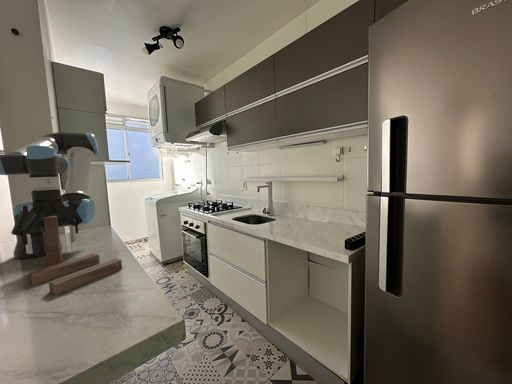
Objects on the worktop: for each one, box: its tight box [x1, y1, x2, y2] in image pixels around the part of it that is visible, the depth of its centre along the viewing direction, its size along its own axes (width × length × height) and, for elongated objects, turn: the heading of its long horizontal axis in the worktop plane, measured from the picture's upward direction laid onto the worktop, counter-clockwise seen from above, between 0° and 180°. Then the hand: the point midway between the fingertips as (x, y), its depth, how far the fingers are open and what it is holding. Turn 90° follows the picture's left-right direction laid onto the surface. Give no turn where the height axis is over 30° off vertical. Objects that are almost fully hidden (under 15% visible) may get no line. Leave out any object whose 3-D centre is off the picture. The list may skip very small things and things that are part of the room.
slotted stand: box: [27, 252, 123, 296], centre depth 71 cm, size 18×18×3 cm
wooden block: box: [43, 216, 63, 268], centre depth 80 cm, size 4×11×18 cm, turn 40°
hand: (53, 247), depth 80 cm, fingers open, 12 cm apart
